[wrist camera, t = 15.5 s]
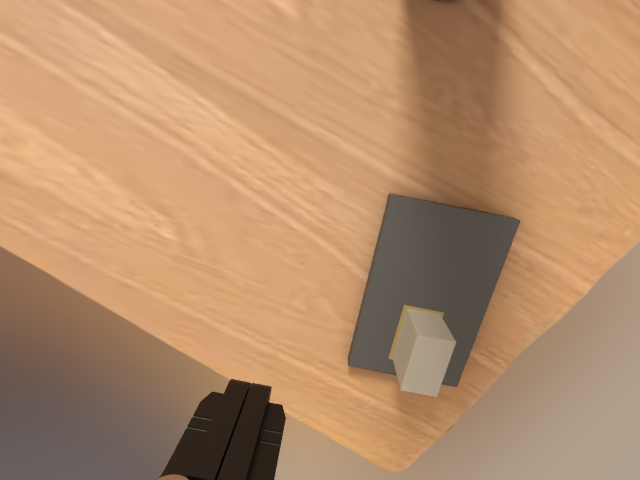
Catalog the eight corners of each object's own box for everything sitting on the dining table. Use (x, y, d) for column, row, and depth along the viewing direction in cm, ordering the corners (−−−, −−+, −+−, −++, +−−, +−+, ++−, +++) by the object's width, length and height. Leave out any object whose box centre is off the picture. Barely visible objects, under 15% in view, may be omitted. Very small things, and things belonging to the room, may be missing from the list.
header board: (389, 193, 36) (397, 202, 31) (513, 217, 36) (543, 230, 31) (347, 358, 43) (349, 389, 37) (452, 378, 43) (469, 412, 37)
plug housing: (406, 308, 38) (417, 334, 33) (440, 314, 38) (456, 342, 33) (392, 357, 40) (400, 390, 35) (424, 363, 40) (436, 397, 35)
